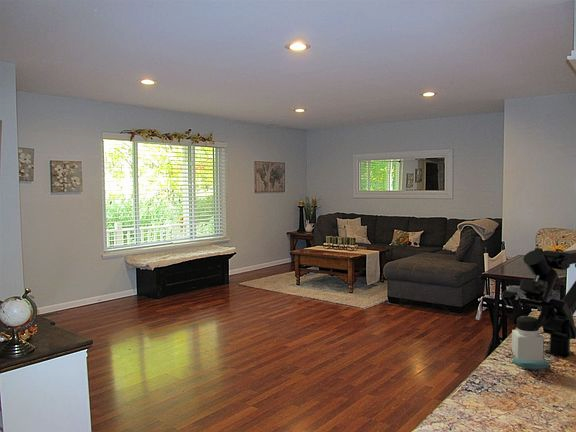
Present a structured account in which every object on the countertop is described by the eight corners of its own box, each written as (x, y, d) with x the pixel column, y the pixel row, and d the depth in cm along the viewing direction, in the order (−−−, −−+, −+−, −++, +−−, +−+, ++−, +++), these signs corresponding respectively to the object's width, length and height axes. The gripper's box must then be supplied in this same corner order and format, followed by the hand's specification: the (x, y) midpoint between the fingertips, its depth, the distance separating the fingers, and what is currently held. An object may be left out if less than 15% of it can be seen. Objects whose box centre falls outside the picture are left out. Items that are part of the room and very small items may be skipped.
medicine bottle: (543, 361, 143) (544, 321, 142) (517, 360, 145) (518, 320, 144) (536, 352, 150) (536, 314, 149) (511, 351, 152) (511, 314, 151)
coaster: (522, 355, 158) (522, 352, 158) (554, 364, 150) (554, 361, 150) (506, 362, 152) (506, 359, 152) (538, 372, 144) (538, 369, 144)
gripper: (504, 265, 155) (485, 305, 149) (566, 273, 140) (547, 318, 134) (516, 285, 160) (498, 325, 155) (577, 295, 145) (560, 340, 140)
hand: (524, 326), depth 146 cm, fingers closed on medicine bottle, 6 cm apart
